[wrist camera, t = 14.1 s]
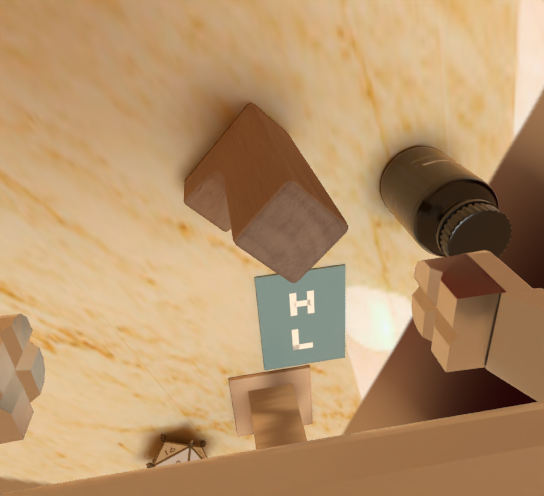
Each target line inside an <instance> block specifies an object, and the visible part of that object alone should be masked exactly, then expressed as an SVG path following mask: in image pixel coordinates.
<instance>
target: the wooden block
mask: <svg viewBox="0 0 544 496" xmlns="http://www.w3.org/2000/svg"><path fill="white" fill-rule="evenodd" d="M184 203H185V204H186V205H187V206H189V207H190V208H191V209H193V210H194V211H196V212H197V213H199V214H200V215H201V216H203V217H204V218H206V219H207V220H209V221H210V222H211V223H213V224H214V225H216V226H217V227H219V228H220V229H221V230H223V231H225V232H227V231H229V230H230V229H231V230H232V236H233V241H234V242H235V244H236V245H237V246H238V247H240V248H241V249H243V250H244V251H246V252H247V253H248V254H250V255H251V256H253V257H254V258H256V259H257V260H259V261H260V262H262V263H263V264H264V265H266V266H267V267H269V268H270V269H272V270H273V271H275V272H276V273H277V274H279V275H280V276H282V277H283V278H285V279H286V280H288V281H289V282H291V283H296V282H298V281H299V280H300V279H301V278H302V277H303V276H304V275H305V274H306V273H307V272H308V271H309V270H310V269H311V268H312V267H313V266H314V265H315V264H316V263H317V262H318V261H319V260H320V259H321V258H322V257H323V256H324V255H325V254H326V253H327V251H328V250H329V249H330V248H331V247H332V246H333V245H334V244H335V243H336V242H337V241H338V240H339V239H340V238H341V237H342V236H343V235H344V234H345V233H346V232H347V230H348V225H347V223H346V221H345V219H344V218H343V216H342V215H341V213H340V212H339V210H338V209H337V207H336V206H335V204H334V203H333V201H332V200H331V198H330V197H329V195H328V193H327V192H326V190H325V189H324V187H323V186H322V184H321V183H320V181H319V180H318V178H317V177H316V175H315V174H314V172H313V171H312V169H311V168H310V166H309V165H308V163H307V162H306V160H305V159H304V157H303V156H302V154H301V153H300V151H299V150H298V148H297V147H296V145H295V144H294V142H293V140H292V139H291V137H290V136H289V134H288V133H287V132H286V131H285V130H283V129H282V128H281V127H280V126H279V125H278V124H277V123H275V122H274V121H273V120H272V119H271V118H270V117H268V116H267V115H266V114H265V113H264V112H263V111H262V110H260V109H259V108H258V107H257V106H256V105H255V104H252V103H250V104H249V105H247V106H246V107H245V109H244V110H243V111H242V112H241V114H240V115H239V116H238V117H237V118H236V120H235V121H234V122H233V123H232V125H231V126H230V127H229V128H228V129H227V131H226V132H225V133H224V134H223V136H222V137H221V138H220V139H219V140H218V142H217V143H216V144H215V145H214V147H213V148H212V149H211V150H210V151H209V153H208V154H207V155H206V156H205V158H204V159H203V160H202V161H201V162H200V164H199V165H198V166H197V167H196V169H195V170H194V171H193V172H192V173H191V175H190V176H189V177H188V178H187V180H186V181H185V184H184Z"/></svg>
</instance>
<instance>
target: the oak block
mask: <svg viewBox="0 0 544 496" xmlns="http://www.w3.org/2000/svg"><path fill="white" fill-rule="evenodd" d="M248 393H249V400H250V408H251V415H252V423H253V430H254V437H255V444H256V450H258V449H264V448H269V447H275V446H281V445H287V444H293V443H299V442H305V441H307V439H306V435H305V431H304V427H303V423H302V419H301V415H300V411H299V407H298V403H297V399H296V395H295V392H294V388H293V384H288V385H282V386H275V387H269V388H263V389H257V390H251V391H248Z"/></svg>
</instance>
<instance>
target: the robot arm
mask: <svg viewBox="0 0 544 496" xmlns="http://www.w3.org/2000/svg"><path fill="white" fill-rule="evenodd" d="M414 278H415V280H416V281H417V282H418V284H419V285H420V286H419V287H418V289H417V290H416V291H415V293H414V294H413V295H412V313H413V319H414V322H415V325H416V327H417V329H418V331H419V332H420V334H421V336H422V337H424V338H426V339H428V340H430V341H432V349H431V351H432V352H433V354H434V355H435V357H436V358H437V360H438V361H439V363H440V364H441V366H442V367H443V369H444V370H445V371H446V372H451V371H458V370H466V369H473V368H481V367H486V369H487V370H488V371H490V372H491V373H493V374H495V375H496V376H498V377H500V378H501V379H503V380H504V381H506V382H507V383H509V384H511V385H512V386H514V387H516V388H517V389H519V390H520V391H522V392H523V393H525V394H527V395H528V396H530V397H531V398H533V399H535V400H536V401H538V402H535V403H530V404H524V405H518V406H512V407H506V408H501V409H495V410H489V411H483V412H477V413H471V414H465V415H460V416H453V417H447V418H441V419H435V420H430V421H424V422H417V423H411V424H405V425H400V426H394V427H388V428H382V429H376V430H370V431H364V432H358V433H352V434H346V435H340V436H334V437H328V438H322V439H316V440H310V441H305V442H299V443H293V444H287V445H281V446H275V447H269V448H264V449H258V450H252V451H246V452H240V453H234V454H228V455H223V456H217V457H211V458H205V459H199V460H193V461H187V462H182V463H176V464H170V465H164V466H158V467H152V468H146V469H140V470H134V471H129V472H123V473H117V474H111V475H105V476H99V477H93V478H87V479H81V480H75V481H69V482H63V483H57V484H52V485H46V486H41V487H34V488H28V489H22V490H16V491H10V492H5V493H0V496H544V289H542V288H537V289H533V288H531V287H530V286H529V285H528V284H527V283H526V282H525V281H523V280H522V279H521V278H520V277H519V276H518V275H516V274H515V273H514V272H513V271H512V270H511V269H510V268H509V267H507V266H506V265H505V264H504V263H503V262H502V261H501V260H499V259H498V258H497V257H496V256H495V255H494V254H493V253H491V252H489V251H486V250H482V251H477V252H471V253H465V254H460V255H454V256H448V257H441V258H435V259H429V260H422V261H418V262H417V265H416V267H415V275H414ZM32 331H33V330H32V328H31V326H30V324H29V321H28V319H27V317H25V316H24V315H22V314H15V315H6V316H0V444H2V443H7V442H12V441H18V440H23V439H24V436H25V433H26V431H27V428H28V425H29V423H30V420H31V417H32V415H33V412H34V411H33V409H32V407H31V404H30V403H31V402H32V401H33V400H34V399H35V398H36V397H37V396H39V395H40V393H41V390H42V387H43V384H44V376H45V366H44V360H43V356H42V354H41V351H40V348H39V347H37V346H36V345H34V344H33V343H31V342H30V341H28V340H29V338H30V335H31V333H32Z"/></svg>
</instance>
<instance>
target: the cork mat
mask: <svg viewBox="0 0 544 496" xmlns="http://www.w3.org/2000/svg"><path fill="white" fill-rule="evenodd" d="M229 384H230V390H231V396H232V403H233V409H234V415H235V422H236V428H237V434H238V437H240V436H245V435H251V434H254V430H253V423H252V415H251V408H250V400H249V393H248V391H251V390H257V389H263V388H269V387H275V386H282V385H288V384H293V388H294V392H295V395H296V399H297V403H298V407H299V411H300V415H301V419H302V423H303V425H309V424H313V421H312V399H311V376H310V366H309V365H308V366H302V367H295V368H289V369H283V370H277V371H271V372H264V373H258V374H252V375H246V376H239V377H233V378H229Z"/></svg>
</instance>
